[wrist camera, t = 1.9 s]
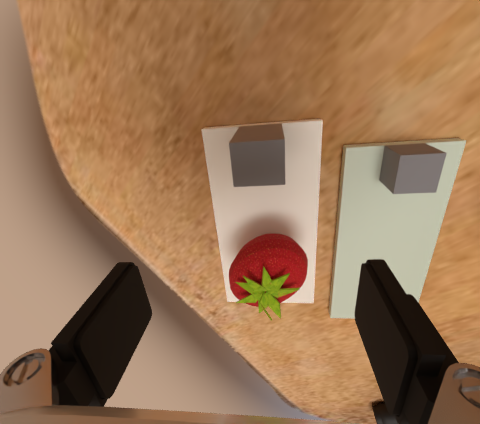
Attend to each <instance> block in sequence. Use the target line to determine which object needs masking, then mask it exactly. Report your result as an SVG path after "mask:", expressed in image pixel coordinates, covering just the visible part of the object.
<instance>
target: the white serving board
mask: <svg viewBox="0 0 480 424" xmlns="http://www.w3.org/2000/svg"><path fill="white" fill-rule="evenodd" d="M322 126H323V120H322V119H308V120H295V121H281V122H268V123H255V124H242V125H229V126H216V127H204V128H203V129H202V136H203V143H204V149H205V156H206V162H207V169H208V176H209V182H210V189H211V196H212V202H213V209H214V215H215V222H216V229H217V235H218V242H219V248H220V255H221V262H222V268H223V275H224V282H225V288H226V295H227V301H228V302H237V301H239V299H237V298H236V297H235V296H234V294H233V293H232V291H231V289H230V283H229V269H230V266H231V264H232V262H233V260H234V259H235V257H236V256H237V254H238V253H239V251H240V250H241V248H242V247H243V246H244V245H245V244H247V243H248V242H249V241H251V240H252V239H254V238H256V237H258V236H261V235H264V234H271V233H276V234H283V235H286V236H289V237H290V238H292V239H293V240H294V241H296V242H297V243H298V245H299V246H300V247H301V248H302V249H303V250H304V252H305V253H306V256H307V259H308V268H307V276H306V279H305V281H304V283H303V285H302V286H301V288H300V290H298V291H297V292H296V293H295V294H294V295H292V296H291V297H290V298H288V299H286V300H285V301H283V302H281V303H314V284H315V265H316V245H317V225H318V205H319V185H320V166H321V146H322Z"/></svg>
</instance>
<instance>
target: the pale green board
mask: <svg viewBox="0 0 480 424" xmlns="http://www.w3.org/2000/svg"><path fill="white" fill-rule="evenodd" d="M465 143H466V140H463V139H460V138H449V139H433V140H417V141H401V142H384V143H368V144H352V145H343V154H342V166H341V177H340V189H339V200H338V211H337V223H336V234H335V246H334V257H333V268H332V280H331V291H330V302H329V314H330V318H354V319H355V306H356V299H357V292H358V285H359V278H360V270H361V265H362V263H366V261H367V260H368V259H383V260H385V262H386V263H387V265H388V266H389V268H390V269H391V271H392V272H393V274H394V276H395V277H396V279H397V280H398V282H399V283H400V285H401V286H402V288H403V289H404V291H405V293H406V294H411V295H413V296H414V298H415V299H416V300H417V302H419V299H420V295H421V292H422V288H423V285H424V282H425V278H426V275H427V272H428V268H429V265H430V261H431V258H432V255H433V251H434V248H435V245H436V241H437V238H438V235H439V231H440V228H441V224H442V221H443V218H444V214H445V211H446V208H447V204H448V201H449V197H450V194H451V191H452V187H453V184H454V181H455V177H456V174H457V170H458V167H459V164H460V160H461V157H462V154H463V150H464V147H465Z"/></svg>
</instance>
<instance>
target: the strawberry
mask: <svg viewBox="0 0 480 424" xmlns="http://www.w3.org/2000/svg"><path fill="white" fill-rule="evenodd" d="M307 268H308V259H307V256H306V253H305V252H304V250H303V249H302V248H301V247H300V246H299V245H298V243H297V242H296V241H294V240H293V239H292V238H290V237H289V236H286V235H283V234H276V233H271V234H264V235H261V236H258V237H256V238H254V239H252V240H251V241H249V242H248V243H247V244H245V245H244V246H243V247H242V248H241V250H240V251H239V253H238V254H237V256H236V257H235V259H234V260H233V262H232V264H231V266H230V269H229V283H230V289H231V291H232V293H233V294H234V296H235V297H236V298H237V299H239V301H237V302H236V303H246V304H248V305H252V306H258V307H259V313H260V312H262V311H263V310H264V311H265V312H266V314H267V315H268V317H269V318H270V320H272V319H271V317H270V316H269V314H268V313H267V311H266V310H265V308H267V307H268V306H269V307H270V308H271V309H272V310H273V311H274V312H275V313H276V314H277V315H278V316H279V317H280V318H281V312H280V303H281V302H283V301H285V300H286V299H288V298H290V297H291V296H292V295H294V294H295V293H296V292H297V291H298V290H300V288H301V286H302V285H303V283H304V281H305V279H306V276H307Z"/></svg>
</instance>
